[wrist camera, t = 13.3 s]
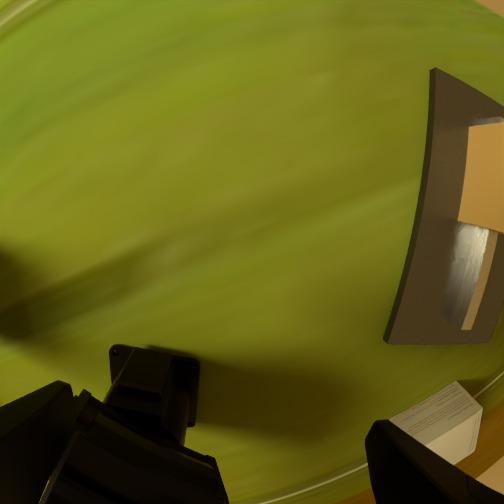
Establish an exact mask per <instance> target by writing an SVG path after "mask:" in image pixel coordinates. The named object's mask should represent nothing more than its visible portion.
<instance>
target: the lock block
mask: <svg viewBox="0 0 504 504" xmlns="http://www.w3.org/2000/svg"><path fill="white" fill-rule="evenodd" d="M458 221H461V222H464V223H468V224H472V225H475V226H479V227H483V228H487V229H490V230H493V231H496V232H498V233H499V234H502V235H504V122H500V123H492V124H484V125H477V126H470V127H469V134H468V148H467V159H466V169H465V177H464V184H463V192H462V198H461V204H460V210H459V216H458Z"/></svg>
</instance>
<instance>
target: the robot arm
mask: <svg viewBox="0 0 504 504" xmlns="http://www.w3.org/2000/svg"><path fill="white" fill-rule="evenodd" d="M114 350H116V351H117V352H118V353H119V354H117V353H115V352H114ZM109 359H110V371H111V382H112V385H111V387H110V389H109V391H108V393H107V395H106V397H105V399H104V401H103V402H101V401H99V400H98V399H96V398H94V397H93V396H91V393H90V392H88V391H87V390H85V389H83V391H82V392H81V393H80V395H79V396H77V395H75V396H74V397H73V392H72V388H71V385H70V384H68V383H66V382H63V381H59V380H57V381H55V382H53V383H51V384H48V385H46V386H44V387H42V388H40V389H38V390H36V391H34V392H32V393H29V394H27V395H25V396H23V397H21V398H19V399H17V400H14V401H12V402H10V403H8V404H6V405H4V406H1V407H0V504H229V501H228V496H227V493H226V491H225V488H224V485H223V481H222V478H221V475H220V472H219V469H218V466H217V463H216V459H215V458H214V457H211V456H209V455H202V454H200V453H198V452H195V451H193V450H191V449H189V448H186V447H184V442H185V436H186V430H187V427H193V426H195V421H196V409H197V398H198V387H199V376H200V362H199V361H198V360H196V359H192V358H186V357H179V356H173V355H170V354H167V353H162V352H156V351H151V350H145V349H140V348H130V347H125V346H121V345H113V346H112V347H111V348H110V350H109ZM190 365H195V366H196V367H195V368H193V367H191V366H190ZM188 421H191V422H188ZM365 449H366V455H367V461H368V468H369V475H370V481H371V486H372V490H373V493H374V497H375V501H376V504H504V495H503V494H501V493H499V492H497V491H495V490H492V489H491V488H489V487H487V486H485V485H484V484H482V483H480V482H479V481H477V480H475V479H474V478H472V477H471V476H469V475H466V473H465V472H463V471H462V470H460V469H458V468H457V467H455V466H454V465H452V464H451V463H449V462H448V461H446V460H445V459H444V458H442V457H441V456H439V455H438V454H436V453H435V452H433V451H432V450H430V449H429V448H428V447H426V446H425V445H423V444H422V443H420V442H419V441H417V440H416V439H415V438H413V437H412V436H410V435H409V434H408V433H406V432H405V431H403V430H402V429H401V428H399V427H398V426H396V425H395V424H394V423H392V422H391V421H389V420H377V421H375V422H374V423H373V425H372V427H371V429H370V431H369V433H368V434H367V436H366V439H365ZM48 480H50V481H49V483H48V485H47V487H46V484H47V482H48ZM45 487H46V490H45V492H44V494H43V491H44V489H45ZM42 494H43V496H42ZM41 496H42V498H41ZM40 499H41V501H40ZM39 501H40V503H39Z"/></svg>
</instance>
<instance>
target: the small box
mask: <svg viewBox="0 0 504 504" xmlns="http://www.w3.org/2000/svg"><path fill="white" fill-rule="evenodd" d="M482 411H483V407H482V406H481V405H480V404H479V403H478V402H477V401H476V400H475V399H474V398H473V397H472V396H471V395H470V394H469V393H468V392H467V391H466V390H465V389H464V388H463V387H462V386H461V385H460V384H459V383H458V382H457V381H454V382H453V383H451V384H450V385H448V386H446V387H445V388H443V389H442V390H440V391H438V392H437V393H435V394H433V395H432V396H430V397H428V398H426V399H425V400H423V401H421V402H419V403H418V404H416V405H414V406H412V407H410V408H408V409H407V410H405V411H403V412H401V413H399V414H397V415H395V416H393V417H391V418H390V419H389V421H391V422H392V423H394V424H395V425H396V426H398V427H399V428H401V429H402V430H403V431H405V432H406V433H408V434H409V435H410V436H412V437H413V438H415V439H416V440H417V441H419V442H420V443H422V444H423V445H425V446H426V447H428V448H429V449H430V450H432V451H433V452H435V453H436V454H438V455H439V456H441V457H442V458H444V459H445V460H446V461H448V462H449V463H451V464H452V465H454V464H456V463H457V462H459V461H461V460H462V459H464V458H465V457H467V456H468V455H470V454H471V453H472V452H474V451H475V447H476V443H477V438H478V433H479V427H480V422H481V416H482Z"/></svg>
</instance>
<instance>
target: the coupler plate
mask: <svg viewBox="0 0 504 504" xmlns="http://www.w3.org/2000/svg"><path fill="white" fill-rule="evenodd" d="M500 122H504V107H503V106H502V105H500V104H499V103H497V102H496V101H494V100H493V99H491V98H490V97H488V96H486V95H485V94H483V93H482V92H480V91H478V90H477V89H475V88H473V87H471V86H470V85H468V84H466V83H464V82H463V81H461V80H459V79H457V78H455V77H453V76H452V75H450V74H448V73H446V72H444V71H442V70H440V69H438V68H434V69H431V70H430V88H429V110H428V125H427V137H426V147H425V156H424V164H423V171H422V179H421V185H420V192H419V198H418V204H417V209H416V215H415V220H414V225H413V230H412V235H411V239H410V244H409V248H408V253H407V257H406V261H405V265H404V269H403V273H402V277H401V281H400V285H399V288H398V292H397V295H396V299H395V302H394V306H393V309H392V312H391V316H390V319H389V322H388V325H387V328H386V331H385V334H384V337H383V340H384V341H385V342H386V343H387V344H469V343H489V341H490V338H491V336H492V333H493V331H494V328H495V325H496V323H497V320H498V317H499V314H500V311H501V308H502V305H503V302H504V235H502V234H499V233H498V232H496V231H493V230H490V229H487V228H483V227H479V226H475V225H472V224H468V223H464V222H461V221H458V216H459V210H460V204H461V198H462V192H463V184H464V177H465V169H466V159H467V148H468V134H469V127H470V126H477V125H484V124H492V123H500Z"/></svg>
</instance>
